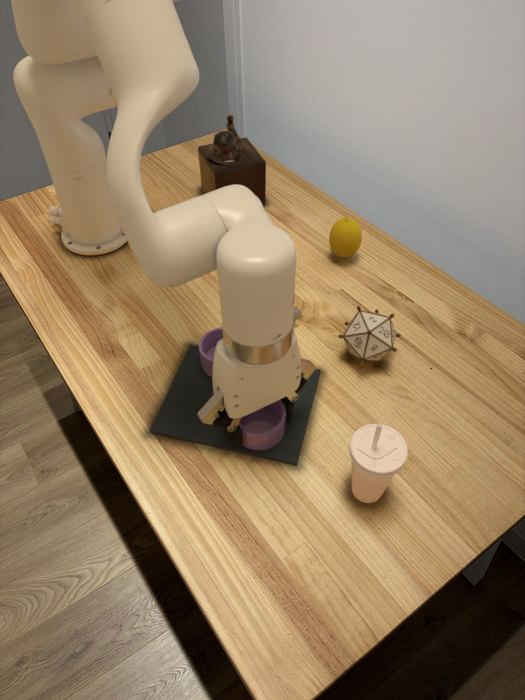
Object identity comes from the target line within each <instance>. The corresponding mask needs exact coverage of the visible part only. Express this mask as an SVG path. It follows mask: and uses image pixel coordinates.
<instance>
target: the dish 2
mask: <svg viewBox="0 0 525 700" xmlns="http://www.w3.org/2000/svg"><path fill="white" fill-rule="evenodd" d="M239 426H240V427H241V430H242V445H243V446H245V447H246V448H249V449H252V450H267V449H270V448H272V447H274V446H276V445H277V444H278V443H279V442H280V441H281V440H282V438H283V436H284V433H285V428H286V409H285V405H284V404H283V402H282V401H281V400H278V401H276V402H274V403H271V404H269V405H267V406H265V407H263V408H261V409H259V410H257V411H255V412H253V413H250V414H248V415H246V416H244V417H242V419H241V421H240V423H239Z"/></svg>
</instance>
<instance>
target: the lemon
mask: <svg viewBox="0 0 525 700" xmlns="http://www.w3.org/2000/svg"><path fill="white" fill-rule="evenodd" d="M362 241H363V233H362V228H361V226H360V224H359V222H358V221H357V220H355V219H354V218H351V217H341V218H340V219H338V220H336V221H335V223H334V224H333V225H332V227H331V229H330V232H329V237H328V242H329V243H328V244H329V247H330V249H331V251H332V253H334V254H335V255H336V256H338V257H341V258H348V257H351V256H353V255H355V254H356V253H357V252H358V251H359V249H360V247H361V244H362Z"/></svg>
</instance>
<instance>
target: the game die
mask: <svg viewBox="0 0 525 700" xmlns="http://www.w3.org/2000/svg"><path fill="white" fill-rule="evenodd" d="M356 309H357V312H356V314H355V315H354V316H353V318H351V320H350V321H349V322H348V321H344V322H343V324H344V326H346V329H345V331H344V333H343V334H339V335H338V336H337V338H339V339H343V340H344V342H345V345H346V347H347V349H348V352H349V353H347V354H346V358H350V357H351V356H354V357H356V358H358V359H359V360H360V365H364V364H365V361H368V362H369V361H370V362H378V365H379V366H381V367H382V366H383V361H382V360H383V359H384V358H385V357H386V356H387V355H388V354H389V353H390V352H391V351H392V352H398V349H397V347H394V345H395V343H396V342H395V341H396V338H400V337H401V336H402V335H401V334H400V333H396V331H395V328H394V324H393V321H392V319H393V318H395V313H394V312H393V313H391V314H390V315H389V316H388V315H384V314H381V313H379V309H378V308H377V309H375V310H374V312H372V311H367V310H361V309H362V308H361V306H359V304H357V306H356Z"/></svg>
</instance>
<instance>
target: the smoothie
mask: <svg viewBox="0 0 525 700" xmlns="http://www.w3.org/2000/svg"><path fill="white" fill-rule="evenodd" d="M348 444H349V445H348V455H349V457H350V460H351V462H350V463H351V464H350V465H351V492H352V494H353V496H354V498H355V499H356V500H358V501H360V502H361V503H364V504H374V503H376V502H378V501H379V500H380V498H381V497H382V496H383V494H384V492H385V491H386V489H387V488H388V486H389V485H390V483H391V482H392V480H393V478H394V477H395V476H396V474H399V473H400V472H401V471H402V470H403V469H404V467H405V465H406V464H407V459H408V453H409V451H408V450H409V449H408V444H407V442H406V439H404V437H403V436H402V434H401V433H399V432H398V431H397V430H396V429H394V428H393V427H391V426H388V425H385V424H383V423H381V422H378V423H368V424H365V425H362V426H361V427H359V428H358V429H356V430H355V431H354V433H352V435H351V438H350V441H349V443H348Z"/></svg>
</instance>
